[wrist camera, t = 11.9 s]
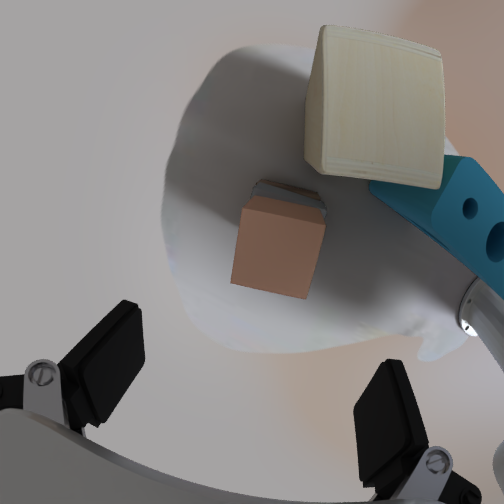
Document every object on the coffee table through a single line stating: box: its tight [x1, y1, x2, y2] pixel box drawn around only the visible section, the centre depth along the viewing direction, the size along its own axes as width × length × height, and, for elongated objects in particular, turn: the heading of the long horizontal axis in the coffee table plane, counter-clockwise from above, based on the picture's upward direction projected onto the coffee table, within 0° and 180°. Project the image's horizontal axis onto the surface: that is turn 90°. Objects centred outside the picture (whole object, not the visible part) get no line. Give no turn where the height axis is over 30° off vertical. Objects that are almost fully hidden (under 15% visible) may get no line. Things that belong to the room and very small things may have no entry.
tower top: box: [250, 182, 327, 219], centre depth 28 cm, size 7×7×4 cm
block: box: [369, 155, 504, 300], centre depth 21 cm, size 12×5×20 cm, turn 61°
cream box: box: [304, 25, 445, 189], centre depth 20 cm, size 8×7×21 cm
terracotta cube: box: [230, 195, 326, 299], centre depth 23 cm, size 6×6×6 cm
